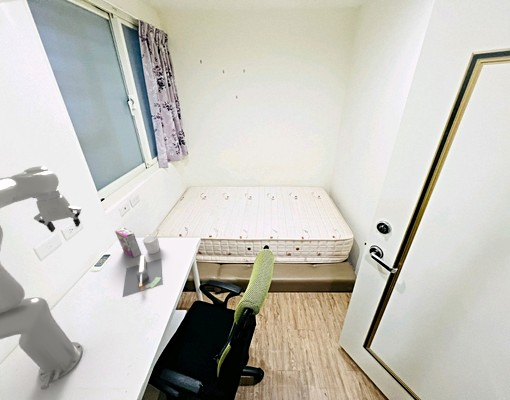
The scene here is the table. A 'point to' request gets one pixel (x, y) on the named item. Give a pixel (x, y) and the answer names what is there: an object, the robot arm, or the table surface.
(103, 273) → the table surface
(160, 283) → the tuner board
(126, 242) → the candy bar box
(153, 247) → the white cup
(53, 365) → the robot arm
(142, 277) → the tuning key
